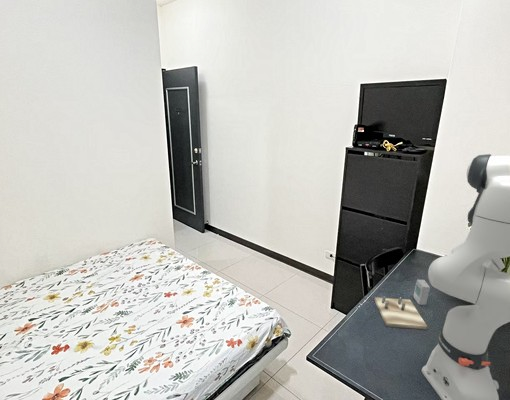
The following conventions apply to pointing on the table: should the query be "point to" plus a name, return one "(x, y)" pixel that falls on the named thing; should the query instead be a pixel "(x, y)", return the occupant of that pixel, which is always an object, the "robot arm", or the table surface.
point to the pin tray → (399, 313)
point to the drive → (421, 292)
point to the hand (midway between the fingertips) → (455, 270)
